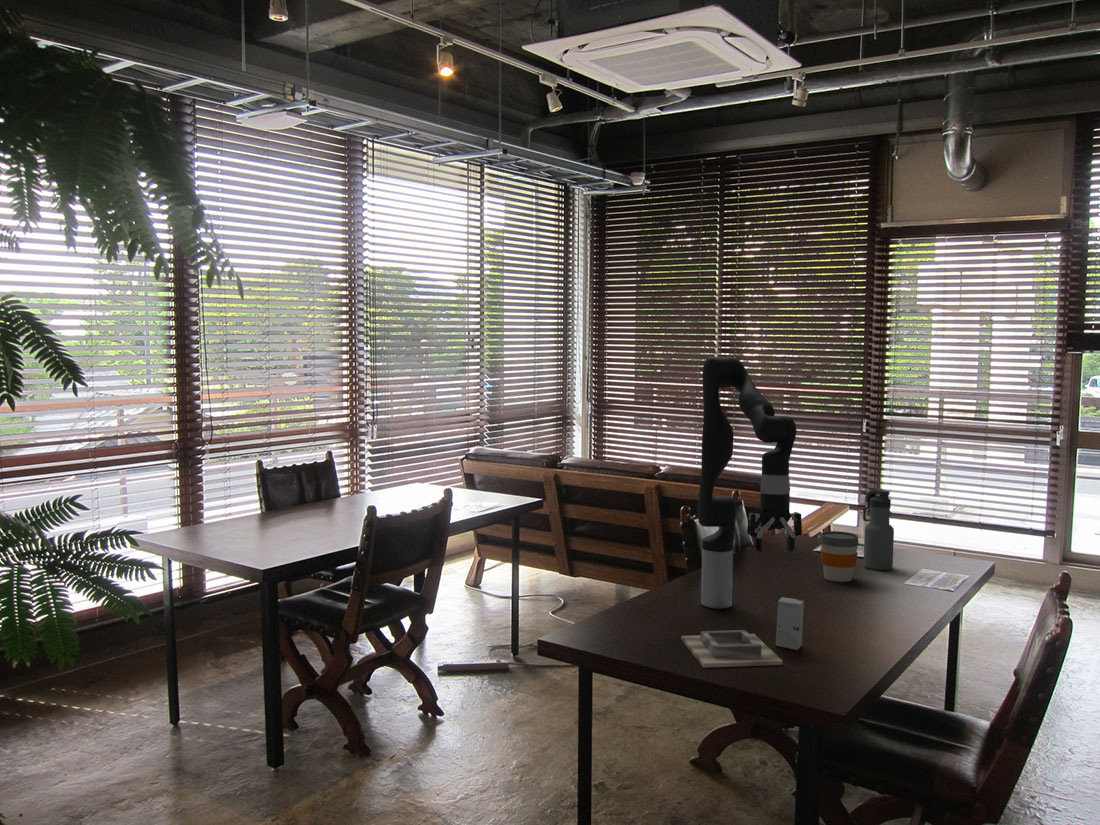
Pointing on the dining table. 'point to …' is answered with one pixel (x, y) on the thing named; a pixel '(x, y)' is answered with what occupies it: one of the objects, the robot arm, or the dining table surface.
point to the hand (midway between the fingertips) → (774, 551)
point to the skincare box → (789, 623)
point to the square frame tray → (730, 649)
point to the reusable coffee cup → (838, 555)
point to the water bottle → (878, 532)
